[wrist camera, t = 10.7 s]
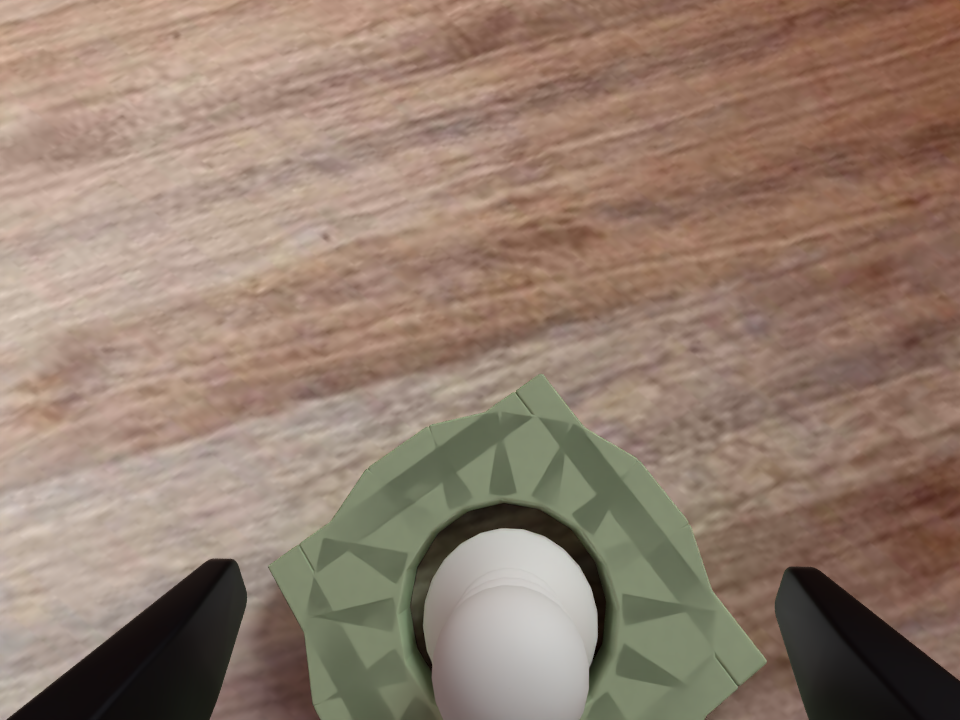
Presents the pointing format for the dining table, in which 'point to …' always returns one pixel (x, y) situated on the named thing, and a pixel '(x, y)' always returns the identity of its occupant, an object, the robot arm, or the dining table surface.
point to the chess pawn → (510, 630)
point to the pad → (529, 483)
